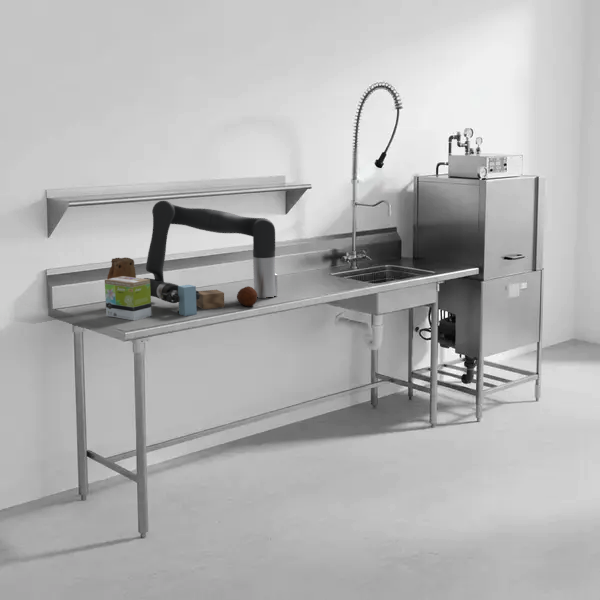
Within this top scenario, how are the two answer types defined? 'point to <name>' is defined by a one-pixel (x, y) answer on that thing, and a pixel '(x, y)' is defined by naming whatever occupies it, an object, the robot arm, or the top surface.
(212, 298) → the brown wooden block
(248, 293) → the potato
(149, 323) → the top surface
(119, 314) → the tea box
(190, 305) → the pillar
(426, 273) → the top surface
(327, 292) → the top surface
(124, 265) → the brown tapered piece
